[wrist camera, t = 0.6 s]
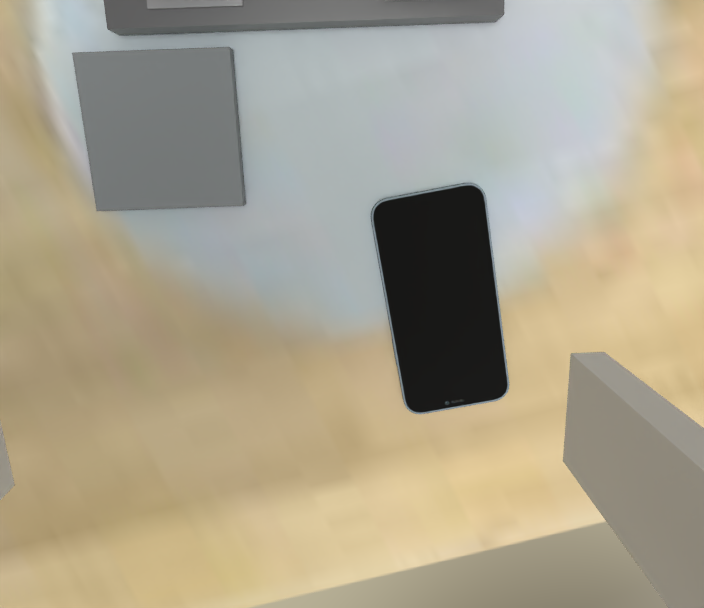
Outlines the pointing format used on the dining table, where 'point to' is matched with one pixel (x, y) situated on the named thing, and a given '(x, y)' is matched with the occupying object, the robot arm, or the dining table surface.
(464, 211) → the smartphone
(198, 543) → the dining table surface
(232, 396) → the dining table surface
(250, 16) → the power strip
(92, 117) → the coaster
